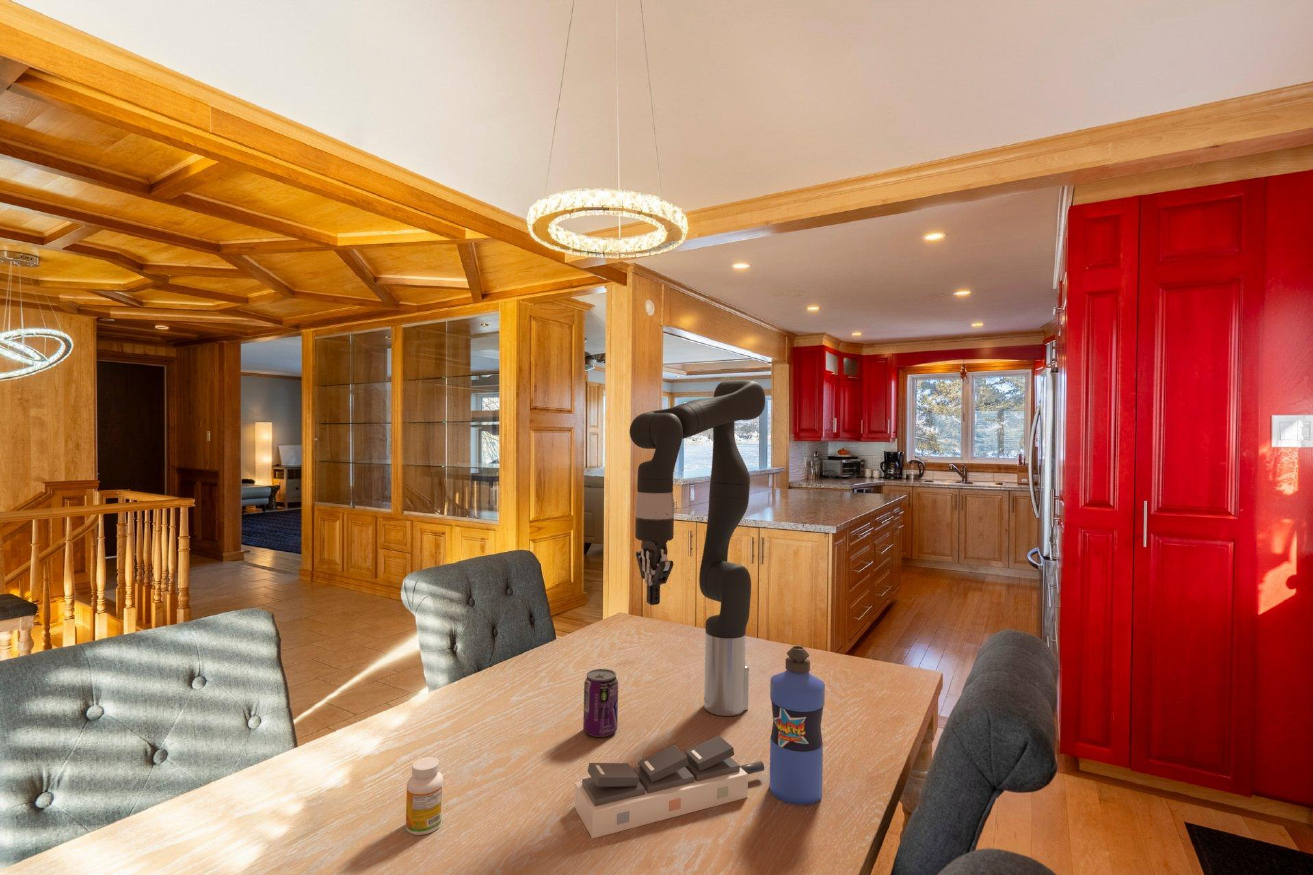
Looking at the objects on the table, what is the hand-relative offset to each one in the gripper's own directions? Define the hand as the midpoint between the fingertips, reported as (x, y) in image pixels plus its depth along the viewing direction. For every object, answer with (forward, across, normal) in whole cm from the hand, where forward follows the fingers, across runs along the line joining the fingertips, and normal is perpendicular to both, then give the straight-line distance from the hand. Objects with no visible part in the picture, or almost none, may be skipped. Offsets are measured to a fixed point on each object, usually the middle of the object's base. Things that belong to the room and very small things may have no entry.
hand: (653, 603), depth 122 cm
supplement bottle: (+29, -7, +42) cm, 52 cm away
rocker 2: (+22, -16, +5) cm, 28 cm away
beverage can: (+29, +12, +6) cm, 32 cm away
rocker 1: (+22, -16, +14) cm, 31 cm away
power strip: (+29, -16, +2) cm, 33 cm away
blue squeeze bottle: (+29, -22, -18) cm, 41 cm away
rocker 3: (+22, -16, -4) cm, 28 cm away
